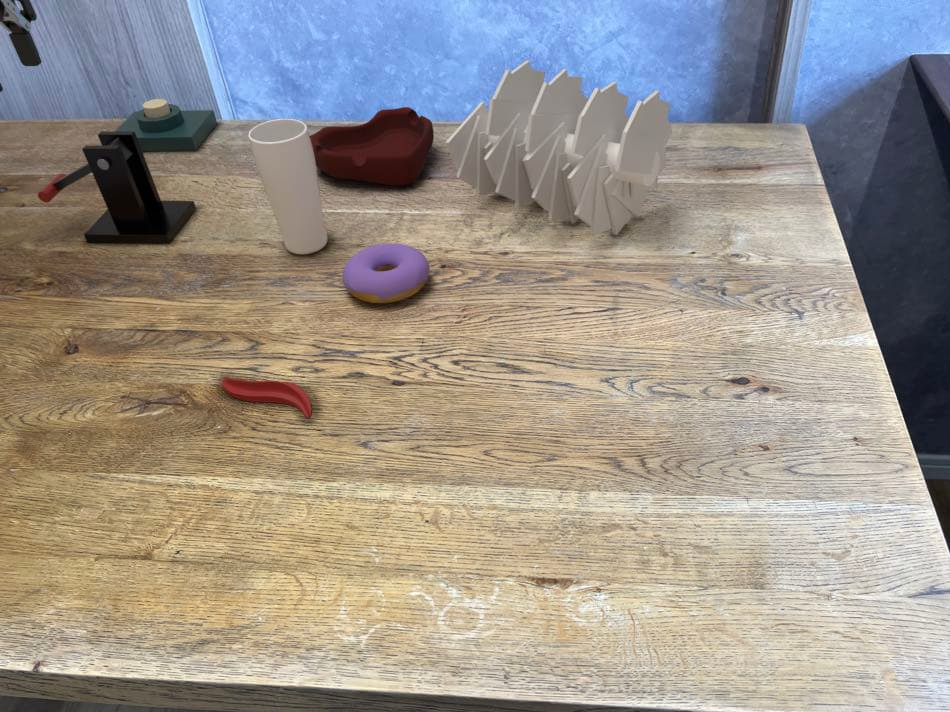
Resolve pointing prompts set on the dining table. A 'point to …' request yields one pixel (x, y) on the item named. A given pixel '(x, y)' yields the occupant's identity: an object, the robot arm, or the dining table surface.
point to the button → (156, 108)
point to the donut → (386, 273)
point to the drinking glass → (290, 182)
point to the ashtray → (376, 148)
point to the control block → (171, 129)
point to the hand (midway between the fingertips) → (13, 78)
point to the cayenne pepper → (268, 392)
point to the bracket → (131, 196)
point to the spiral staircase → (564, 148)
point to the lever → (75, 175)
